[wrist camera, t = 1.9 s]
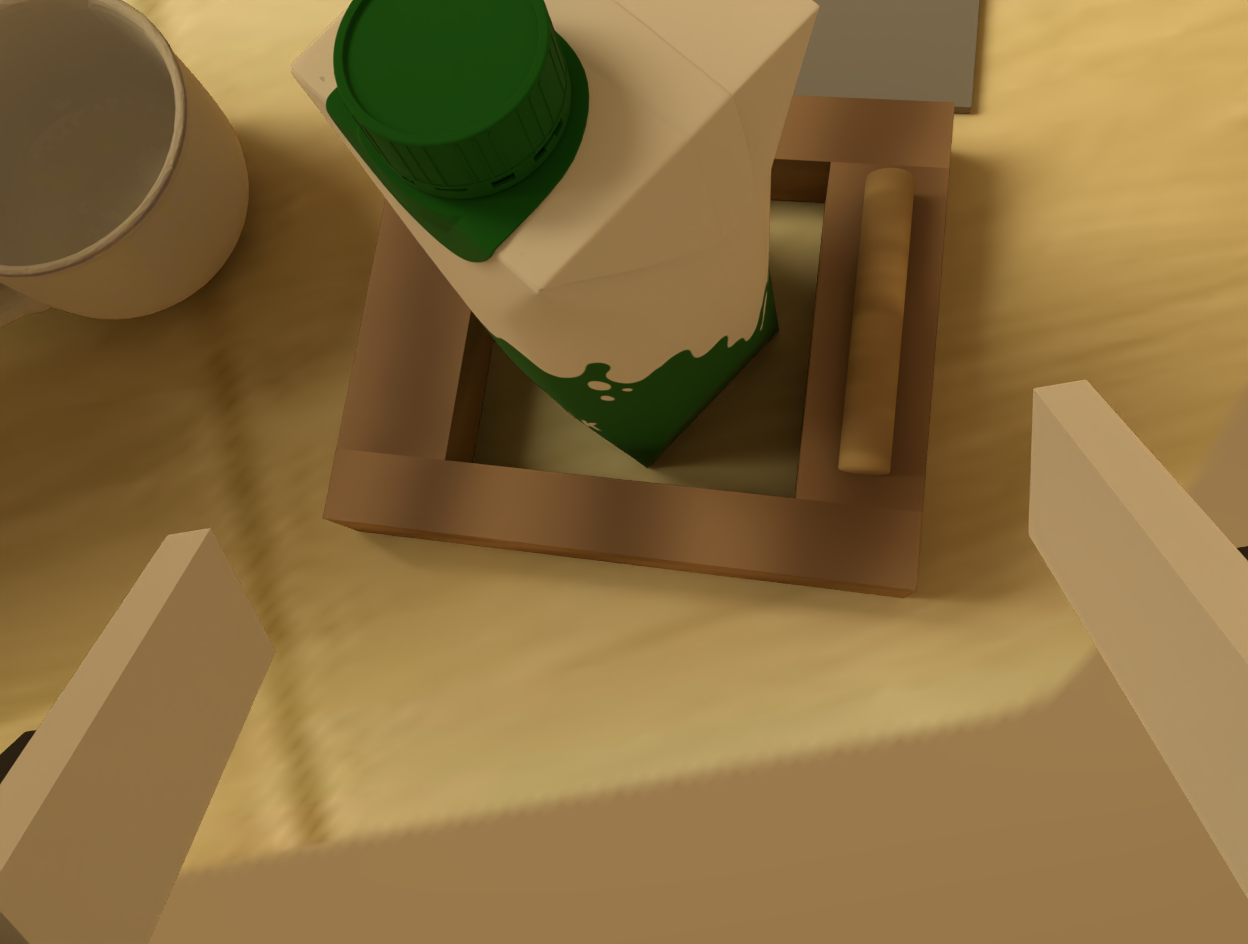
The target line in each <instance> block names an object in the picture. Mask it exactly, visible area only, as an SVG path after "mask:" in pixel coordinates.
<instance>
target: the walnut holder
mask: <svg viewBox="0 0 1248 944" xmlns="http://www.w3.org/2000/svg"><path fill="white" fill-rule="evenodd" d="M954 105H955V102H936V101H914V100H891V99H868V98H845V97H822V96H799V95H793V96H792V99H791V102H790V106H789V109H788V113H787V116H786V120H785V123H784V126H783V130H782V133H781V137H780V140H779V144H778V147H777V151H776V154H775V157H774V161H773V164H772V168H771V191H770V199H774V200H790V201H807V202H823V203H825V208H824V217H823V227H822V237H821V246H820V256H819V265H818V275H817V285H816V294H815V304H814V313H813V323H812V333H811V342H810V352H809V361H808V371H807V381H806V390H805V400H804V409H803V419H802V428H801V438H800V448H799V457H798V467H797V476H796V486H795V496H794V498H788V497H778V496H769V495H760V494H751V493H742V492H732V491H723V490H714V489H705V488H696V487H687V486H677V485H668V484H659V483H650V482H641V481H631V480H622V479H613V478H604V477H595V476H586V475H576V474H567V473H558V472H549V471H540V470H530V469H521V468H512V467H503V466H494V465H484V464H475V463H472V462H473V456H474V450H475V444H476V438H477V432H478V426H479V420H480V414H481V409H482V403H483V397H484V391H485V385H486V379H487V373H488V367H489V361H490V355H491V349H492V343H493V337H492V336H491V335H490V334H489V332H488V331H487V330H486V328H485V327H484V326H483V325H482V323H481V322H480V321H479V320H478V318H477V317H476V316H475V314H474V313H473V312H472V311H471V309H470V308H469V307H468V306H467V304H466V303H465V302H464V300H463V299H462V298H461V297H460V295H459V294H458V293H457V291H456V290H455V289H454V288H453V286H452V285H451V284H450V282H449V281H448V280H447V279H446V277H445V276H444V275H443V274H442V272H441V271H440V270H439V268H438V267H437V266H436V264H435V263H434V262H433V260H432V259H431V258H430V257H429V255H428V254H427V253H426V251H425V250H424V249H423V247H422V246H421V245H420V244H419V242H418V241H417V240H416V238H415V237H414V236H413V234H412V233H411V232H410V230H409V229H408V228H407V226H406V225H405V224H404V222H403V221H402V219H401V218H400V217H399V215H398V214H397V213H396V211H395V210H394V209H393V207H392V206H391V205H390V203H389V202H388V201H387V199H385V204H384V209H383V214H382V219H381V224H380V229H379V234H378V239H377V244H376V250H375V255H374V260H373V265H372V270H371V275H370V280H369V285H368V290H367V295H366V300H365V306H364V311H363V316H362V321H361V326H360V331H359V336H358V341H357V346H356V351H355V356H354V362H353V367H352V372H351V377H350V382H349V387H348V392H347V397H346V402H345V407H344V412H343V417H342V423H341V428H340V433H339V438H338V443H337V448H336V453H335V458H334V463H333V468H332V473H331V479H330V484H329V489H328V494H327V499H326V504H325V509H324V514H323V518H324V519H326V520H329V521H332V522H335V523H337V524H340V525H343V526H346V527H348V528H351V529H354V530H357V531H363V532H371V533H379V534H387V535H396V536H404V537H412V538H420V539H428V540H436V541H444V542H453V543H461V544H469V545H477V546H485V547H493V548H501V549H510V550H518V551H526V552H534V553H542V554H550V555H558V556H567V557H575V558H583V559H591V560H599V561H607V562H615V563H624V564H632V565H640V566H648V567H656V568H664V569H672V570H681V571H689V572H697V573H705V574H713V575H721V576H729V577H738V578H746V579H754V580H762V581H770V582H778V583H786V584H795V585H803V586H811V587H819V588H827V589H835V590H843V591H852V592H860V593H868V594H876V595H884V596H892V597H900V598H903V597H905V596H907V595H909V594H910V593H912V592H914V591H916V589H917V576H918V563H919V550H920V538H921V525H922V512H923V500H924V487H925V474H926V461H927V449H928V436H929V423H930V410H931V398H932V385H933V372H934V360H935V347H936V334H937V321H938V309H939V296H940V283H941V271H942V258H943V245H944V232H945V220H946V207H947V194H948V182H949V169H950V156H951V143H952V131H953V118H954Z"/></svg>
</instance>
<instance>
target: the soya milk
mask: <svg viewBox="0 0 1248 944" xmlns="http://www.w3.org/2000/svg"><path fill="white" fill-rule="evenodd" d="M819 7H820V6H819V5H818V4H817V3H816V2H814V1H813V0H353V1H352V2H351V4H350V5H349V6H348V7H347V8H346V9H345V10H344V11H343V12H342V13H341V14H340V15H339V16H338V17H337V18H336V19H335V20H334V21H333V22H332V23H331V24H330V25H329V26H328V27H327V28H326V29H325V30H324V31H323V32H322V33H321V34H320V35H319V36H318V37H317V38H316V40H315V41H314V42H313V43H312V44H311V45H310V46H309V47H308V48H307V49H306V50H305V51H304V52H303V53H302V54H301V55H300V56H299V57H298V58H297V59H296V60H295V61H294V62H293V63H292V75H293V76H294V78H295V79H296V80H297V82H298V83H299V84H300V86H301V87H302V88H303V89H304V91H305V92H306V93H307V95H308V96H309V97H310V99H311V100H312V101H313V103H314V104H315V105H316V106H317V108H318V109H319V110H320V112H321V113H322V114H323V116H324V117H325V118H326V120H327V121H328V122H329V124H330V125H331V126H332V128H333V129H334V130H335V132H336V133H337V134H338V135H339V137H340V138H341V139H342V141H343V142H344V143H345V145H346V146H347V147H348V149H349V150H350V151H351V153H352V154H353V155H354V157H355V158H356V159H357V161H358V162H359V163H360V165H361V166H362V167H363V169H364V170H365V171H366V173H367V174H368V175H369V177H370V178H371V179H372V181H373V182H374V183H375V185H376V186H377V187H378V189H379V190H380V191H381V193H382V194H383V195H384V197H385V198H386V199H387V201H388V202H389V203H390V205H391V206H392V207H393V209H394V210H395V211H396V213H397V214H398V215H399V217H400V218H401V219H402V221H403V222H404V224H405V225H406V226H407V228H408V229H409V230H410V232H411V233H412V234H413V236H414V237H415V238H416V240H417V241H418V242H419V244H420V245H421V246H422V247H423V249H424V250H425V251H426V253H427V254H428V255H429V257H430V258H431V259H432V260H433V262H434V263H435V264H436V266H437V267H438V268H439V270H440V271H441V272H442V274H443V275H444V276H445V277H446V279H447V280H448V281H449V282H450V284H451V285H452V286H453V288H454V289H455V290H456V291H457V293H458V294H459V295H460V297H461V298H462V299H463V300H464V302H465V303H466V304H467V306H468V307H469V308H470V309H471V311H472V312H473V313H474V314H475V316H476V317H477V318H478V320H479V321H480V322H481V323H482V325H483V326H484V327H485V328H486V330H487V331H488V332H489V334H490V335H491V336H492V337H493V339H494V340H495V341H496V343H497V344H498V345H499V346H500V348H501V349H502V350H503V351H504V352H505V354H506V355H507V356H508V357H509V358H510V359H511V360H512V361H513V362H514V364H515V365H516V366H517V367H518V368H519V369H520V370H521V371H522V372H523V373H525V374H526V375H527V376H528V377H529V378H530V379H531V380H532V381H533V382H534V383H536V384H537V385H538V386H539V387H540V388H542V389H543V390H544V391H545V392H546V393H547V394H548V395H550V396H551V397H552V398H553V399H554V400H555V401H556V402H557V403H559V404H560V405H561V406H562V407H563V408H564V409H565V410H566V411H567V412H569V413H570V414H571V415H572V416H574V417H575V418H576V419H578V420H579V421H581V422H582V423H583V424H585V425H586V426H588V427H589V428H591V429H592V430H593V431H595V432H596V433H598V434H599V435H601V436H602V437H604V438H605V439H606V440H608V441H609V442H611V443H612V444H614V445H615V446H617V447H618V448H620V449H621V450H622V451H624V452H625V453H627V454H628V455H630V456H631V457H633V458H634V459H636V460H637V461H638V462H640V463H641V464H643V465H644V466H645V467H647V468H648V467H649V466H650V465H651V464H652V463H653V462H654V461H655V460H656V459H657V458H658V457H659V456H660V455H661V454H662V453H663V452H664V450H665V449H666V448H667V447H668V446H669V445H670V444H671V443H672V442H673V441H674V440H675V439H676V438H677V437H678V436H679V435H680V434H681V433H682V432H683V431H684V430H685V428H686V427H687V426H688V425H689V424H690V423H691V422H692V421H693V420H694V419H695V418H696V417H697V416H698V415H699V414H700V413H701V412H702V411H703V410H704V409H705V408H706V406H707V405H708V404H709V403H710V402H711V401H712V400H713V399H714V398H715V397H716V396H717V395H718V394H719V393H720V392H721V391H722V390H723V389H724V388H725V387H726V386H727V384H728V383H729V382H730V381H731V380H732V379H733V378H734V377H735V376H736V375H737V374H738V373H739V372H740V371H741V370H742V369H743V368H744V367H745V366H746V365H747V364H748V362H749V361H750V360H751V359H752V358H753V357H754V356H755V355H756V354H757V353H758V352H759V351H760V350H761V349H762V348H763V347H764V346H765V345H766V344H767V343H768V342H769V341H770V339H771V338H772V337H773V336H774V335H775V334H776V333H777V332H778V331H779V328H778V322H777V316H776V310H775V303H774V297H773V290H772V284H771V277H770V271H769V228H770V191H771V168H772V164H773V161H774V157H775V154H776V151H777V147H778V144H779V140H780V137H781V133H782V130H783V126H784V123H785V120H786V116H787V113H788V109H789V106H790V102H791V99H792V96H793V92H794V89H795V85H796V82H797V79H798V76H799V72H800V69H801V66H802V62H803V59H804V56H805V52H806V49H807V46H808V42H809V39H810V36H811V32H812V29H813V26H814V23H815V19H816V16H817V13H818V10H819Z"/></svg>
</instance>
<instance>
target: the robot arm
mask: <svg viewBox="0 0 1248 944" xmlns="http://www.w3.org/2000/svg"><path fill="white" fill-rule="evenodd" d="M1028 535H1029V536H1030V538H1031V540H1032V541H1033V543H1034V545H1035V546H1036V548H1037V550H1038V551H1039V553H1040V555H1041V556H1042V558H1043V560H1044V561H1045V563H1046V565H1047V566H1048V568H1049V570H1050V571H1051V573H1052V575H1053V576H1054V578H1055V579H1056V581H1057V583H1058V584H1059V586H1060V588H1061V589H1062V591H1063V593H1064V594H1065V596H1066V598H1067V599H1068V601H1069V603H1070V604H1071V606H1072V608H1073V609H1074V611H1075V613H1076V614H1077V616H1078V618H1079V619H1080V621H1081V623H1082V624H1083V626H1084V628H1085V629H1086V631H1087V633H1088V634H1089V636H1090V638H1091V639H1092V641H1093V643H1094V644H1095V646H1096V648H1097V649H1098V651H1099V653H1100V654H1101V656H1102V658H1103V659H1104V661H1105V663H1106V664H1107V666H1108V668H1109V669H1110V671H1111V673H1112V674H1113V676H1114V678H1115V679H1116V681H1117V683H1118V684H1119V686H1120V687H1121V689H1122V691H1123V693H1124V694H1125V696H1126V697H1127V699H1128V701H1129V702H1130V704H1131V706H1132V707H1133V709H1134V711H1135V712H1136V714H1137V716H1138V717H1139V719H1140V721H1141V722H1142V724H1143V726H1144V727H1145V729H1146V731H1147V732H1148V734H1149V735H1150V737H1151V739H1152V741H1153V742H1154V744H1155V746H1156V747H1157V749H1158V751H1159V752H1160V754H1161V756H1162V757H1163V759H1164V761H1165V762H1166V764H1167V766H1168V767H1169V769H1170V770H1171V772H1172V774H1173V775H1174V777H1175V779H1176V781H1177V782H1178V784H1179V785H1180V787H1181V789H1182V791H1183V792H1184V794H1185V796H1186V797H1187V799H1188V800H1189V802H1190V804H1191V805H1192V807H1193V809H1194V810H1195V812H1196V814H1197V816H1198V817H1199V819H1200V821H1201V822H1202V824H1203V825H1204V827H1205V829H1206V830H1207V832H1208V833H1209V835H1210V837H1211V839H1212V840H1213V842H1214V844H1215V845H1216V847H1217V849H1218V850H1219V852H1220V854H1221V855H1222V857H1223V859H1224V860H1225V862H1226V864H1227V865H1228V867H1229V868H1230V870H1231V872H1232V874H1233V875H1234V877H1235V879H1236V880H1237V882H1238V884H1239V885H1240V887H1241V888H1242V890H1243V892H1244V894H1245V895H1246V897H1247V899H1248V546H1247V547H1240V548H1236V547H1235V546H1234V545H1233V544H1232V543H1231V542H1230V541H1229V539H1228V538H1227V537H1226V536H1225V535H1224V534H1223V533H1222V531H1220V529H1219V528H1218V527H1217V526H1216V525H1215V524H1214V522H1213V521H1212V520H1211V519H1210V518H1209V517H1208V516H1207V515H1206V514H1205V512H1204V511H1203V510H1202V509H1201V508H1200V507H1199V506H1198V504H1197V503H1196V502H1195V501H1194V500H1193V499H1192V498H1191V497H1190V495H1189V494H1188V493H1187V492H1186V491H1185V490H1184V489H1183V488H1182V487H1181V485H1180V484H1179V483H1178V482H1177V481H1176V480H1175V479H1174V478H1173V476H1172V475H1171V474H1170V473H1169V472H1168V471H1167V470H1166V469H1165V467H1164V466H1163V465H1162V464H1161V463H1160V462H1159V461H1158V460H1157V458H1156V457H1155V456H1154V455H1153V454H1152V453H1151V452H1150V451H1149V449H1148V448H1147V447H1146V446H1145V445H1144V444H1143V443H1142V442H1141V440H1140V439H1139V438H1138V437H1137V436H1136V435H1135V434H1134V433H1133V432H1132V430H1131V429H1130V428H1129V427H1128V426H1127V425H1126V424H1125V423H1124V421H1123V420H1122V419H1121V418H1120V417H1119V416H1118V415H1117V414H1116V412H1115V411H1114V410H1113V409H1112V408H1111V407H1110V406H1109V405H1108V403H1107V402H1106V401H1105V400H1104V399H1103V398H1102V397H1101V396H1100V394H1099V393H1098V392H1097V391H1096V390H1095V389H1094V388H1093V387H1092V385H1091V384H1090V383H1089V382H1088V381H1087V380H1086V379H1085V380H1079V381H1073V382H1067V383H1061V384H1056V385H1050V386H1044V387H1038V388H1033V413H1032V443H1031V473H1030V502H1029V532H1028ZM274 653H275V649H274V647H273V645H272V643H271V641H270V639H269V637H268V635H267V633H266V631H265V630H264V628H263V626H262V624H261V622H260V620H259V618H258V616H257V614H256V612H255V610H254V609H253V607H252V605H251V603H250V601H249V599H248V597H247V595H246V593H245V591H244V590H243V588H242V586H241V584H240V582H239V580H238V578H237V576H236V574H235V572H234V570H233V569H232V567H231V565H230V563H229V561H228V559H227V557H226V555H225V553H224V551H223V549H222V548H221V546H220V544H219V542H218V540H217V538H216V536H215V534H214V532H213V530H212V529H211V528H206V529H200V530H194V531H188V532H182V533H176V534H170V535H167V536H166V538H165V539H164V541H163V542H162V544H161V545H160V547H159V548H158V550H157V551H156V553H155V554H154V556H153V557H152V559H151V560H150V562H149V563H148V565H147V566H146V568H145V569H144V571H143V572H142V574H141V575H140V576H139V578H138V579H137V581H136V582H135V584H134V585H133V587H132V588H131V590H130V591H129V593H128V594H127V596H126V597H125V599H124V600H123V602H122V603H121V605H120V606H119V608H118V609H117V611H116V612H115V614H114V615H113V617H112V618H111V620H110V621H109V623H108V624H107V626H106V627H105V629H104V630H103V632H102V633H101V635H100V636H99V638H98V639H97V641H96V642H95V644H94V645H93V647H92V648H91V650H90V651H89V653H88V654H87V656H86V657H85V659H84V660H83V662H82V663H81V665H80V666H79V668H78V669H77V671H76V672H75V674H74V675H73V677H72V678H71V680H70V681H69V683H68V684H67V685H66V687H65V688H64V690H63V691H62V693H61V694H60V696H59V697H58V699H57V700H56V702H55V703H54V705H53V706H52V708H51V709H50V711H49V712H48V714H47V715H46V717H45V718H44V720H43V721H42V723H41V724H40V726H39V727H38V729H37V730H34V731H27V732H24V733H23V734H22V735H21V736H20V737H19V738H18V739H17V740H16V741H15V742H14V743H13V744H11V745H10V746H9V747H8V748H7V749H6V750H5V751H4V752H3V753H2V754H1V755H0V944H148V943H149V941H150V938H151V936H152V933H153V931H154V929H155V927H156V924H157V922H158V920H159V918H160V915H161V913H162V911H163V908H164V906H165V904H166V901H167V899H168V897H169V895H170V892H171V890H172V888H173V885H174V883H175V881H176V879H177V876H178V874H179V872H180V869H181V867H182V865H183V862H184V860H185V858H186V856H187V853H188V851H189V849H190V846H191V844H192V842H193V839H194V837H195V835H196V833H197V830H198V828H199V826H200V823H201V821H202V819H203V816H204V814H205V812H206V810H207V807H208V805H209V803H210V800H211V798H212V796H213V794H214V791H215V789H216V787H217V784H218V782H219V780H220V777H221V775H222V773H223V771H224V768H225V766H226V764H227V761H228V759H229V757H230V754H231V752H232V750H233V748H234V745H235V743H236V741H237V738H238V736H239V734H240V732H241V729H242V727H243V725H244V722H245V720H246V718H247V715H248V713H249V711H250V709H251V706H252V704H253V702H254V699H255V697H256V695H257V692H258V690H259V688H260V686H261V683H262V681H263V679H264V676H265V674H266V672H267V669H268V667H269V665H270V663H271V660H272V658H273V656H274Z"/></svg>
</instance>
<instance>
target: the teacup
mask: <svg viewBox="0 0 1248 944" xmlns="http://www.w3.org/2000/svg"><path fill="white" fill-rule="evenodd" d="M248 202H249V178H248V170H247V166H246V162H245V157H244V153H243V150H242V148H241V145H240V142H239V140H238V138H237V135H236V133H235V131H234V129H233V128H232V126H231V124H230V123H229V121H228V119H227V117H226V116H225V115H224V113H223V112H222V110H221V109H220V108H219V106H218V105H217V103H216V102H215V101H214V99H213V98H212V97H211V96H210V94H209V93H208V92H207V90H206V89H205V88H204V87H203V86H202V84H201V83H200V82H199V81H198V79H197V78H196V77H195V76H194V75H193V74H192V73H191V71H190V70H189V69H188V68H187V67H186V66H185V65H184V63H183V62H182V61H181V60H180V59H179V58H178V57H177V56H176V55H175V54H174V52H173V51H172V49H171V47H170V45H169V43H168V42H167V41H166V39H165V38H164V36H163V35H162V34H161V32H160V31H159V30H158V29H157V28H156V27H155V25H153V24H152V23H151V22H150V21H149V20H148V19H147V18H146V17H145V16H144V15H143V14H142V13H141V12H139V11H138V10H136V9H135V8H133V7H132V6H131V5H129V4H127V3H125V2H124V1H122V0H0V283H2V284H1V285H0V328H1V327H3V326H4V325H6V324H8V323H10V322H12V321H14V320H16V319H18V318H20V317H22V316H24V315H26V314H34V313H40V312H44V311H46V310H48V309H50V308H51V307H55V308H57V309H60V310H63V311H66V312H69V313H72V314H76V315H81V316H86V317H91V318H97V319H128V318H136V317H141V316H146V315H150V314H153V313H156V312H159V311H162V310H165V309H167V308H169V307H171V306H173V305H175V304H177V303H179V302H181V301H183V300H185V299H187V298H188V297H190V296H191V295H192V294H194V293H195V292H196V291H198V290H199V289H200V288H202V287H203V286H204V285H206V284H207V283H208V282H209V281H210V280H211V279H212V278H213V277H214V276H215V275H216V273H217V272H218V271H219V270H220V269H221V268H222V266H223V265H224V263H225V262H226V260H227V259H228V257H229V256H230V255H231V253H232V251H233V249H234V247H235V245H236V243H237V242H238V239H239V237H240V234H241V231H242V229H243V226H244V223H245V219H246V214H247V208H248Z"/></svg>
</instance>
